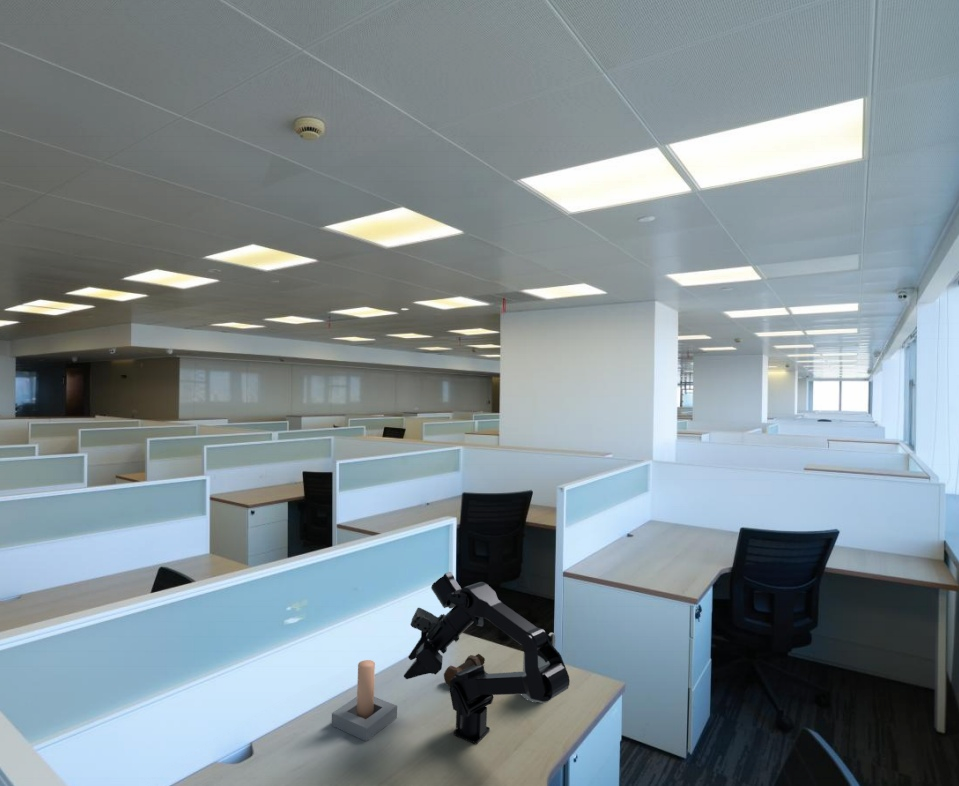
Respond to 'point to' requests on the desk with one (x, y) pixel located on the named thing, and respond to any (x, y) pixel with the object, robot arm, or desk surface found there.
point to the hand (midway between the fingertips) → (407, 667)
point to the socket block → (362, 727)
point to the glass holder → (540, 662)
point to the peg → (365, 689)
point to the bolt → (463, 667)
